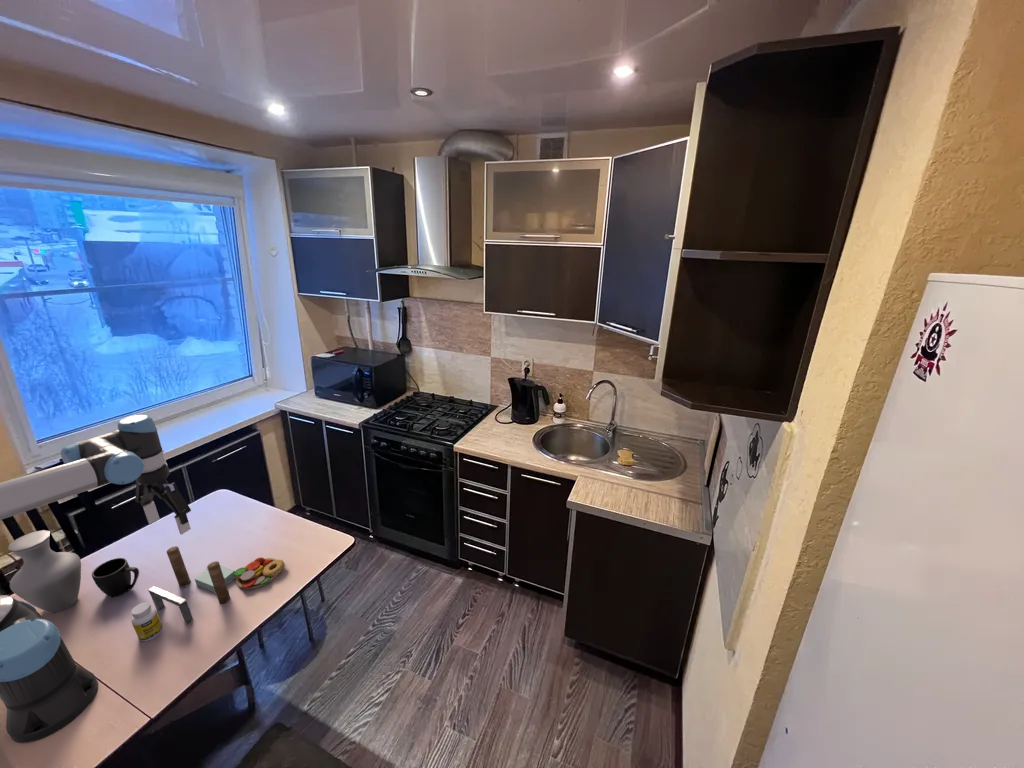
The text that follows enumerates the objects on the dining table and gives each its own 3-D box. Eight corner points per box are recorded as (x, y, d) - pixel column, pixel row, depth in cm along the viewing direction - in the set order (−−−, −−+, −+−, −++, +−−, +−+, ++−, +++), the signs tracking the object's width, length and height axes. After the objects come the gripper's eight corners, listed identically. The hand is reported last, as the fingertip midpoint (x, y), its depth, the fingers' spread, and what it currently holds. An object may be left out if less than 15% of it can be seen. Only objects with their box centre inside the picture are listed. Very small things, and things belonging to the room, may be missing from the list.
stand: (216, 592, 134) (214, 586, 133) (196, 584, 137) (194, 578, 136) (236, 576, 140) (234, 570, 139) (217, 569, 143) (215, 563, 142)
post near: (223, 605, 129) (211, 570, 124) (216, 602, 130) (204, 567, 125) (232, 597, 132) (221, 562, 127) (225, 594, 133) (214, 560, 128)
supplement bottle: (147, 644, 117) (136, 619, 114) (134, 638, 119) (122, 613, 115) (167, 628, 122) (157, 603, 119) (154, 622, 124) (144, 597, 120)
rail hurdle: (188, 623, 123) (180, 603, 120) (156, 609, 128) (148, 589, 125) (193, 619, 125) (186, 599, 122) (161, 605, 129) (153, 586, 126)
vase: (83, 579, 138) (53, 517, 129) (103, 596, 132) (73, 532, 123) (20, 612, 127) (-17, 547, 117) (40, 633, 120) (1, 565, 111)
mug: (133, 601, 130) (123, 578, 127) (94, 601, 131) (83, 577, 127) (154, 580, 138) (145, 557, 135) (118, 580, 138) (108, 557, 135)
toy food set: (290, 569, 143) (288, 562, 142) (253, 598, 132) (250, 590, 131) (265, 556, 149) (263, 548, 148) (227, 582, 138) (225, 575, 137)
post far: (183, 588, 135) (170, 554, 130) (177, 585, 136) (164, 551, 131) (192, 581, 138) (180, 547, 133) (186, 578, 139) (174, 545, 134)
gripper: (194, 467, 122) (211, 527, 129) (135, 453, 129) (154, 510, 136) (166, 481, 115) (186, 544, 122) (106, 465, 122) (128, 524, 130)
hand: (169, 526), depth 129 cm, fingers open, 13 cm apart
